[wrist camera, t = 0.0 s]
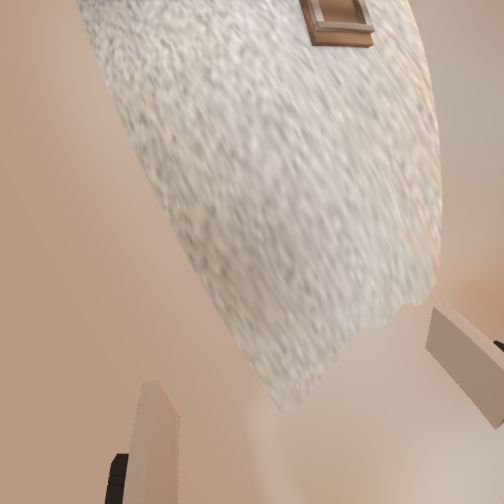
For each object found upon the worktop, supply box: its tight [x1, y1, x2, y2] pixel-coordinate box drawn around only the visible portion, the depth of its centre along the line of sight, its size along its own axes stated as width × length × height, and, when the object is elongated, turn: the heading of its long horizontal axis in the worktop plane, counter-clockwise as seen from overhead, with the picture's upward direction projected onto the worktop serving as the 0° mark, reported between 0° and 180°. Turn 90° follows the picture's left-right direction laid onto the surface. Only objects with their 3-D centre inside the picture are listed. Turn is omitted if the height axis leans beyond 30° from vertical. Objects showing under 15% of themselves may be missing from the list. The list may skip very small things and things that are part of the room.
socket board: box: [300, 0, 374, 47], centre depth 27 cm, size 12×9×3 cm
